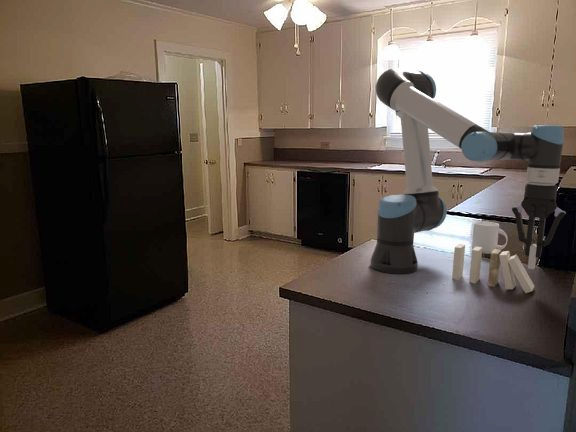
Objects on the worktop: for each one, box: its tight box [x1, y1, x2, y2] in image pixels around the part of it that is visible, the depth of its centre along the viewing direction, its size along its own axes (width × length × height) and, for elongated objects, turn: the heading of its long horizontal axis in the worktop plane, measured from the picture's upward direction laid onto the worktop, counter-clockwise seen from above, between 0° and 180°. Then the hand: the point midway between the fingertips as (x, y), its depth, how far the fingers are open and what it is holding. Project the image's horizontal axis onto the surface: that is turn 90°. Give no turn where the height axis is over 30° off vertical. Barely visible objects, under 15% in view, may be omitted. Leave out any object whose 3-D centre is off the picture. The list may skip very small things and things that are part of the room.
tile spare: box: [487, 249, 502, 288], centre depth 127 cm, size 2×5×10 cm, turn 144°
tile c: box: [499, 250, 517, 290], centre depth 125 cm, size 2×5×10 cm, turn 144°
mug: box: [471, 220, 509, 255], centre depth 162 cm, size 9×12×11 cm
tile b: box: [468, 246, 483, 284], centre depth 130 cm, size 2×5×10 cm, turn 144°
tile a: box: [451, 243, 466, 281], centre depth 133 cm, size 2×5×10 cm, turn 144°
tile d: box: [508, 254, 535, 294], centre depth 123 cm, size 2×5×10 cm
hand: (531, 267), depth 121 cm, fingers closed
